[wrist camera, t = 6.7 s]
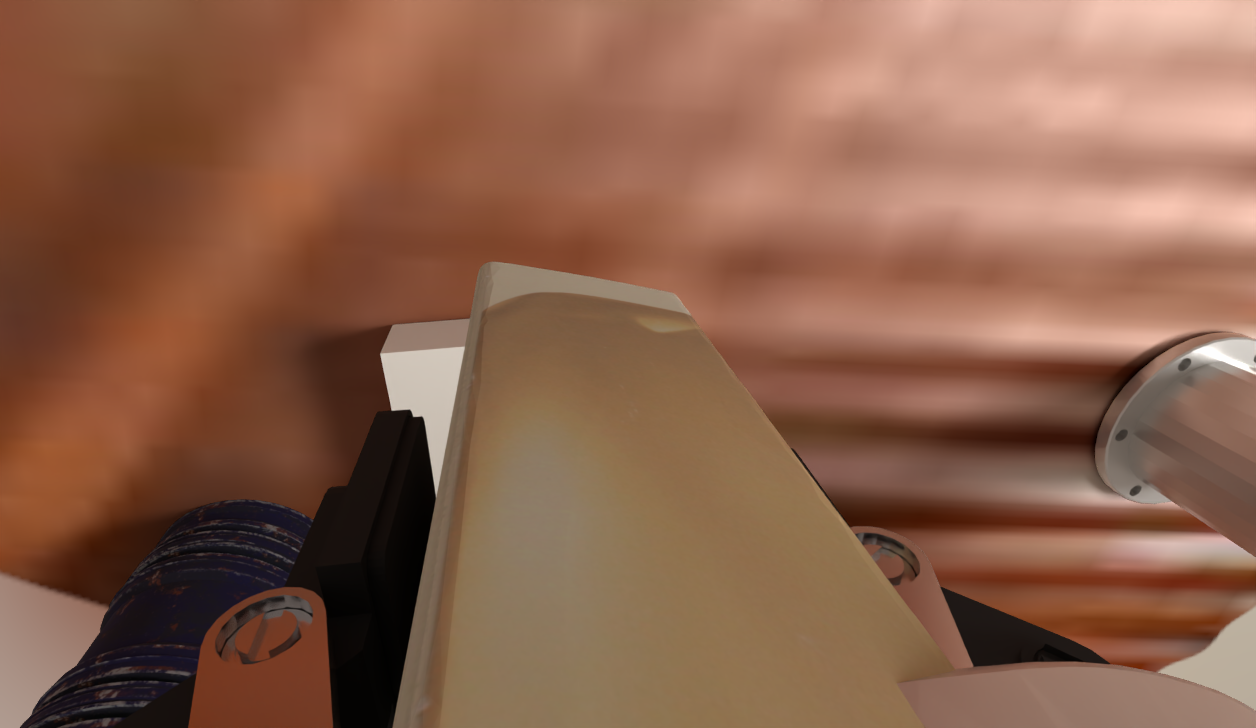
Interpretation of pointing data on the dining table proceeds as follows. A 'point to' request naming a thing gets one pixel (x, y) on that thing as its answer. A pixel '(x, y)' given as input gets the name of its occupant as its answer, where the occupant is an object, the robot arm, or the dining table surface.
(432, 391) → the plinth
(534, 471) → the skincare box
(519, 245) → the dining table surface
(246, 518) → the storage jar
